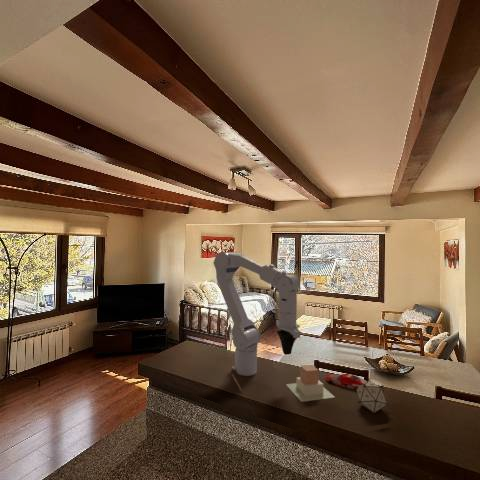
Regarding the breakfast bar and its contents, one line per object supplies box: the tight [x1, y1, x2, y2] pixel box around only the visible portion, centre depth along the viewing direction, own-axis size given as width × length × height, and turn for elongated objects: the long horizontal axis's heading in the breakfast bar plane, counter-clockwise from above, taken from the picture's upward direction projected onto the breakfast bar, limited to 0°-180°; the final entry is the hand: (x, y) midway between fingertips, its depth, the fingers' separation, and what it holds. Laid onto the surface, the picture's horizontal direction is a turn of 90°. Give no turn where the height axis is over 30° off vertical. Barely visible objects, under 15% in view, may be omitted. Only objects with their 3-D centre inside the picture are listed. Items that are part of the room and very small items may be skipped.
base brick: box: [295, 376, 324, 396], centre depth 93 cm, size 6×6×3 cm
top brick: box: [299, 364, 319, 384], centre depth 93 cm, size 4×4×4 cm
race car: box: [325, 373, 368, 390], centre depth 98 cm, size 13×5×4 cm, turn 57°
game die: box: [353, 376, 391, 414], centre depth 83 cm, size 9×8×10 cm
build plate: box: [285, 382, 336, 403], centre depth 93 cm, size 11×11×1 cm
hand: (287, 353), depth 97 cm, fingers closed
